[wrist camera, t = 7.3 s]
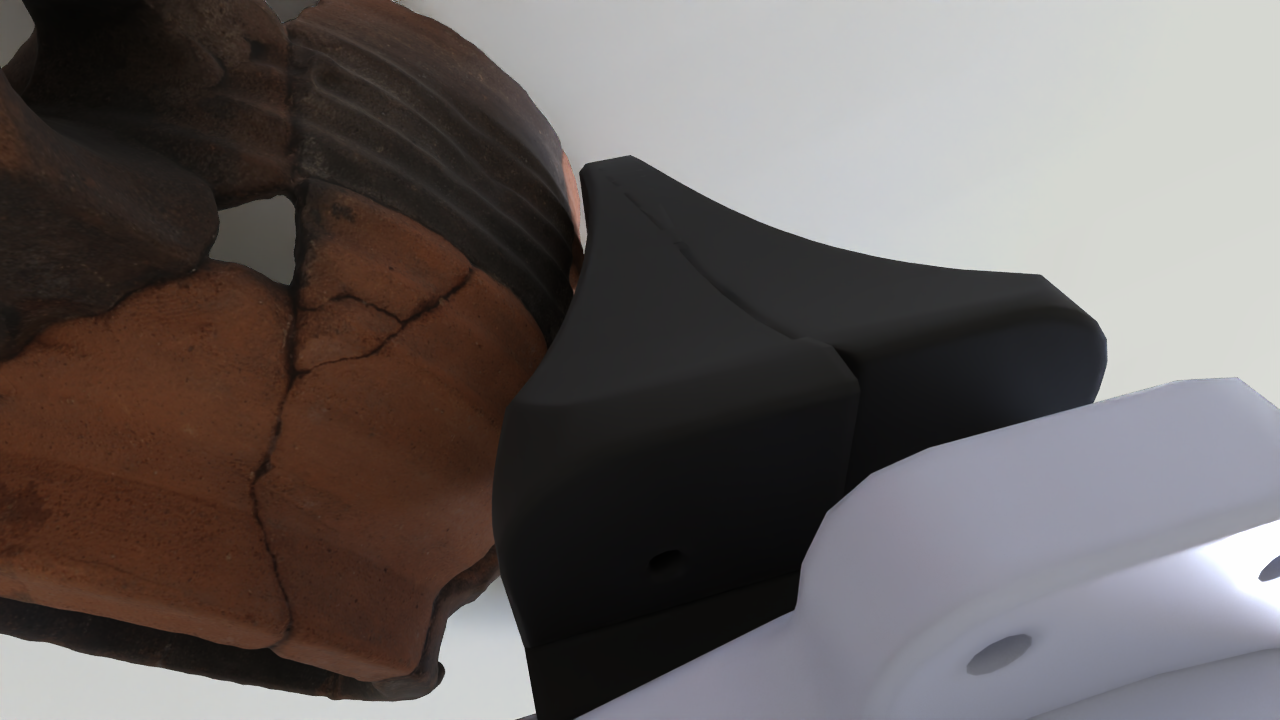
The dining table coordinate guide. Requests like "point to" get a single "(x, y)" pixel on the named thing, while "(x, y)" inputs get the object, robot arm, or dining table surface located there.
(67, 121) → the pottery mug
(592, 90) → the dining table surface
